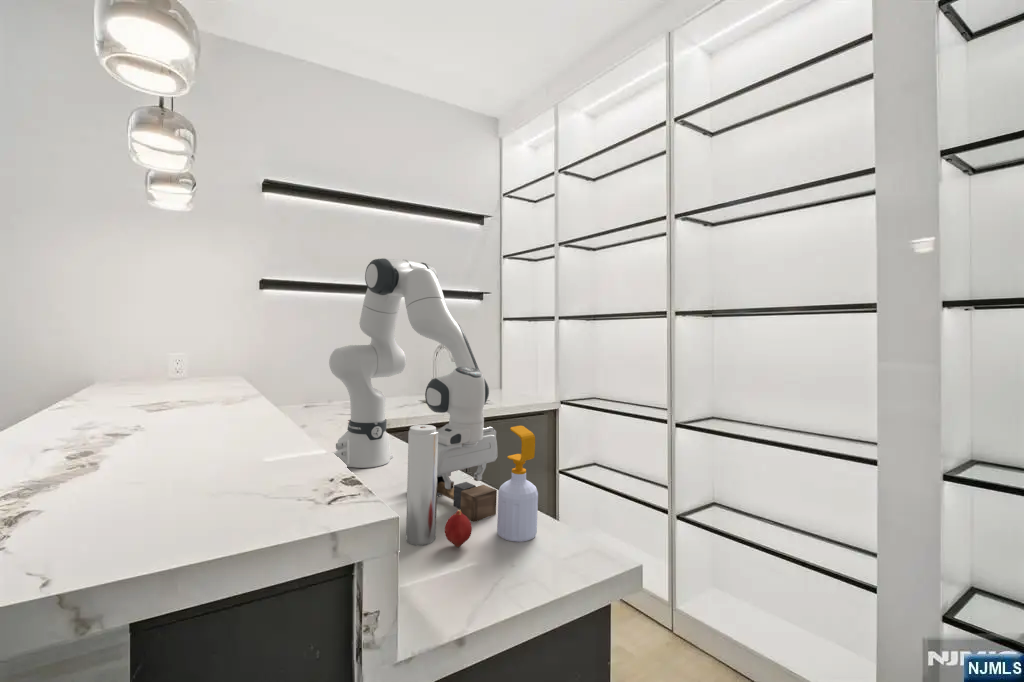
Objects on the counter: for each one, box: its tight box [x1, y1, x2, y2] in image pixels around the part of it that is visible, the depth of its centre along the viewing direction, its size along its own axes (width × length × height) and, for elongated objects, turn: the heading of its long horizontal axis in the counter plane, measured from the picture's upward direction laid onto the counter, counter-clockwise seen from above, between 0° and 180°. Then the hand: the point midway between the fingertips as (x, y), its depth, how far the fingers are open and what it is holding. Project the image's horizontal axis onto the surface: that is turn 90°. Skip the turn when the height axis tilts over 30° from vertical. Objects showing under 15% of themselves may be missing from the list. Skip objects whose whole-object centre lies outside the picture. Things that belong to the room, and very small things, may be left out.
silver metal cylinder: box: [405, 424, 439, 546], centre depth 105 cm, size 6×6×25 cm
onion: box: [444, 509, 473, 548], centre depth 103 cm, size 6×6×8 cm
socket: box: [461, 484, 498, 523], centre depth 119 cm, size 5×7×6 cm
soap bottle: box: [496, 425, 539, 543], centre depth 109 cm, size 9×9×25 cm
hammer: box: [437, 481, 477, 510], centre depth 125 cm, size 17×4×6 cm, turn 45°
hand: (463, 484), depth 123 cm, fingers open, 8 cm apart
